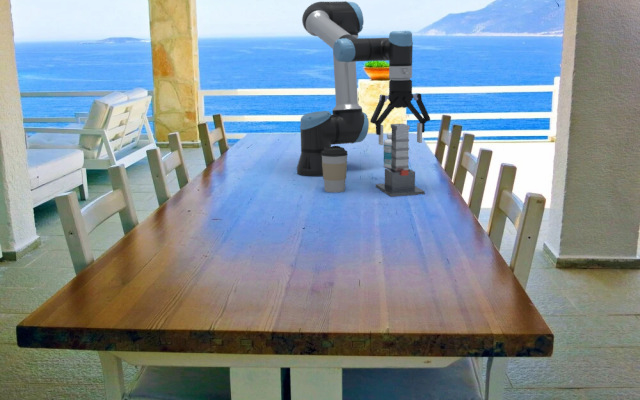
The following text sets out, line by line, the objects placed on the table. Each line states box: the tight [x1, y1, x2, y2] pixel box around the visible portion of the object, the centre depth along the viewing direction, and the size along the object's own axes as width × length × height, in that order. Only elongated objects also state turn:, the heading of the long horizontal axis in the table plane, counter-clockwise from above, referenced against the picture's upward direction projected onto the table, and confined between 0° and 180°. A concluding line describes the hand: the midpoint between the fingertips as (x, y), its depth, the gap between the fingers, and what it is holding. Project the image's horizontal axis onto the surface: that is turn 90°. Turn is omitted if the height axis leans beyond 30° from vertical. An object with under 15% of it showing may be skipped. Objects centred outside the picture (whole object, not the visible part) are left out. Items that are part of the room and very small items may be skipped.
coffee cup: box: [321, 145, 348, 193], centre depth 235 cm, size 9×9×15 cm
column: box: [390, 123, 411, 172], centre depth 232 cm, size 4×6×21 cm
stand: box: [375, 168, 426, 197], centre depth 233 cm, size 12×16×8 cm
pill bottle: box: [383, 132, 392, 169], centre depth 275 cm, size 8×7×14 cm
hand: (400, 143), depth 230 cm, fingers open, 13 cm apart
